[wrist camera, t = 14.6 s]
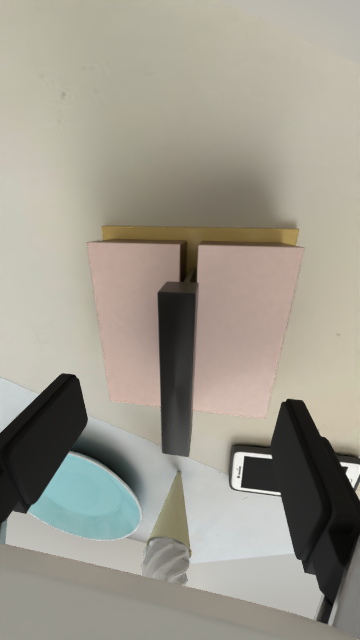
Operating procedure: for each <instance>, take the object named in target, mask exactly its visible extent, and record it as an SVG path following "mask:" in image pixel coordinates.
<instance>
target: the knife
mask: <svg viewBox="0 0 360 640" xmlns="http://www.w3.org/2000/svg"><path fill="white" fill-rule="evenodd" d="M195 274H196V268H194V267H192V268H191V269H190V271H189V273H188V275H187V277H186V279H185V280H184V282H171V281H167V282H166V283H165V284H164V285H163V286H162V288H161V289H160V290H159V291H158V293H157V300H158V334H159V368H160V402H161V436H162V453H164V454H171V455H178V456H185V457H189V452H190V442H191V433H192V416H193V395H194V375H195V354H196V333H197V312H198V291H199V283H195Z"/></svg>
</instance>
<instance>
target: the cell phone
mask: <svg viewBox="0 0 360 640" xmlns="http://www.w3.org/2000/svg"><path fill="white" fill-rule="evenodd" d="M336 456H337V458H338V460H339V462H340V464H341V465H342V467H343V469H344V471H345V473H346V475H347V477H348V479H349V481H350V483H351V485H352V487H353V489H354V491H356V489H357V487H358V484H359V482H360V459H359V458H356V457H350V456H340V455H336ZM229 485H230V487H231V489H233V490H236V491H242V492H250V493H258V494H265V495H273V496H281V493H280V489H279V485H278V481H277V477H276V472H275V468H274V464H273V460H272V455H271V449H270V448H260V447H250V446H234V447H233V448H232V450H231V459H230V472H229ZM251 491H252V492H251Z"/></svg>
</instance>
